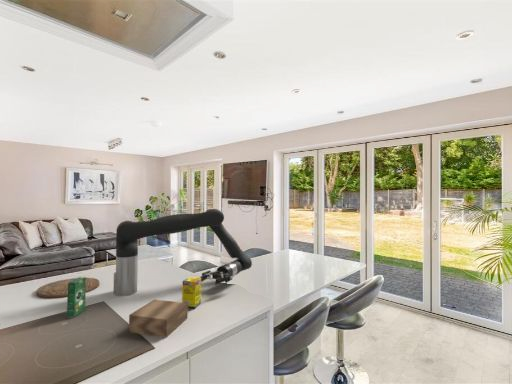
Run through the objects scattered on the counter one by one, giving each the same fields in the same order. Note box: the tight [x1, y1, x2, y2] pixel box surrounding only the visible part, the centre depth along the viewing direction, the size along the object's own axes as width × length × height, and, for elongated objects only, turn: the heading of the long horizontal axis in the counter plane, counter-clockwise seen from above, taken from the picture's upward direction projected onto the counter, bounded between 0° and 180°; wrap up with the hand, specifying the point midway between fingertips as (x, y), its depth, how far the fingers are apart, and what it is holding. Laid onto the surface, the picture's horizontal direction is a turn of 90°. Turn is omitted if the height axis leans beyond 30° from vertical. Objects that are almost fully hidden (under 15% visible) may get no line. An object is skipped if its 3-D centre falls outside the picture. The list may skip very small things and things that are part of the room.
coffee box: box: [66, 276, 87, 319], centre depth 104 cm, size 8×3×13 cm, turn 6°
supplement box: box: [181, 276, 202, 310], centre depth 113 cm, size 6×6×11 cm
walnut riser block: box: [128, 299, 189, 338], centre depth 96 cm, size 14×14×6 cm
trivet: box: [36, 277, 100, 299], centre depth 131 cm, size 25×25×2 cm
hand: (208, 280), depth 123 cm, fingers open, 8 cm apart
